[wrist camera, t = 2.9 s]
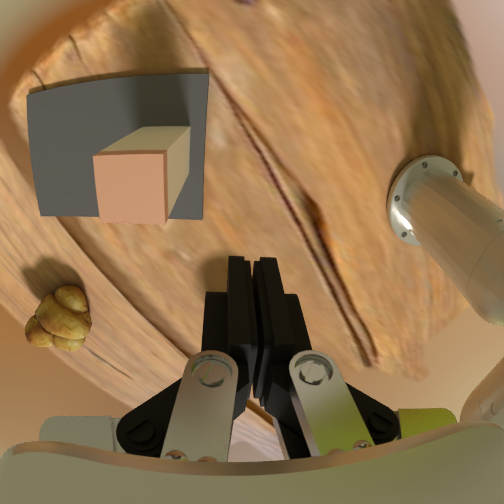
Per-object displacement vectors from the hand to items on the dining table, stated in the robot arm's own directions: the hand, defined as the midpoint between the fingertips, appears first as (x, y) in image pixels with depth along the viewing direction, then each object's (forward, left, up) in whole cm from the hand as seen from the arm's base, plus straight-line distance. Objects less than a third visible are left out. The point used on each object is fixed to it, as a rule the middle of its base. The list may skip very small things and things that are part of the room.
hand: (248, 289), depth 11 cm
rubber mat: (+15, 0, -22) cm, 27 cm away
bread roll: (+26, +25, -23) cm, 42 cm away
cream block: (+8, 0, -22) cm, 23 cm away
